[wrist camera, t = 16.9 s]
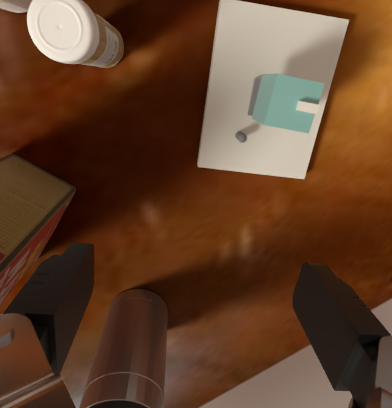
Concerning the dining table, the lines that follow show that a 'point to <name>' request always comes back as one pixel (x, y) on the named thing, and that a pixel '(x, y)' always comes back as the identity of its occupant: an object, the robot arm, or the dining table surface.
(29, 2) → the cup
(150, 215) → the dining table surface
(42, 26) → the sprinkles bottle
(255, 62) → the stud board
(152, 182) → the dining table surface
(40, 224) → the food packaging
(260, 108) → the mint cube with tab
